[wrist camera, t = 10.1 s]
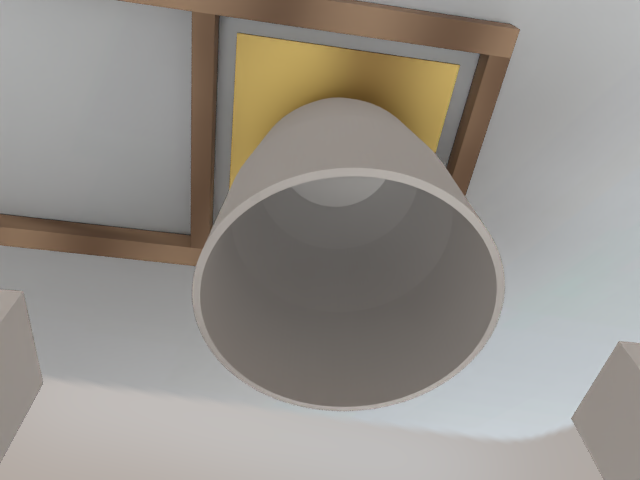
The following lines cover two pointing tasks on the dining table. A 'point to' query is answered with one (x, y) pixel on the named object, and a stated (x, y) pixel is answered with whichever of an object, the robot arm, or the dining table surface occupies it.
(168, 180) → the dining table surface
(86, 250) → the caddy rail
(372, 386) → the cup
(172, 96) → the dining table surface
